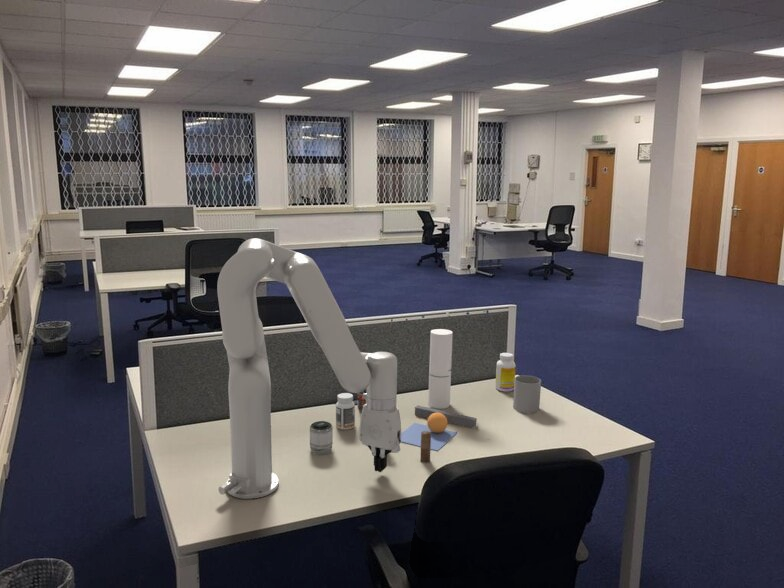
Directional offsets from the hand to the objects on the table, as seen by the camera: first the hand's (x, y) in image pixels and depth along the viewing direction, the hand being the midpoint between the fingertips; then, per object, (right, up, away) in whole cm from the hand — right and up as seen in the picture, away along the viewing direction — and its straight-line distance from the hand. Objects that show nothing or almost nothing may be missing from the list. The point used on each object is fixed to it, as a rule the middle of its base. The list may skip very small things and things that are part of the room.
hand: (380, 469), depth 161 cm
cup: (+47, +7, +47) cm, 67 cm away
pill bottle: (-11, +5, +30) cm, 32 cm away
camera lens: (-17, +1, +14) cm, 21 cm away
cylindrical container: (+19, +8, +48) cm, 52 cm away
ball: (+16, +7, +26) cm, 32 cm away
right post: (+12, 0, +9) cm, 15 cm away
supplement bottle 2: (+43, +11, +64) cm, 78 cm away
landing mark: (+13, +3, +24) cm, 27 cm away
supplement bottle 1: (-5, +7, +44) cm, 45 cm away
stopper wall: (+20, +5, +36) cm, 41 cm away
